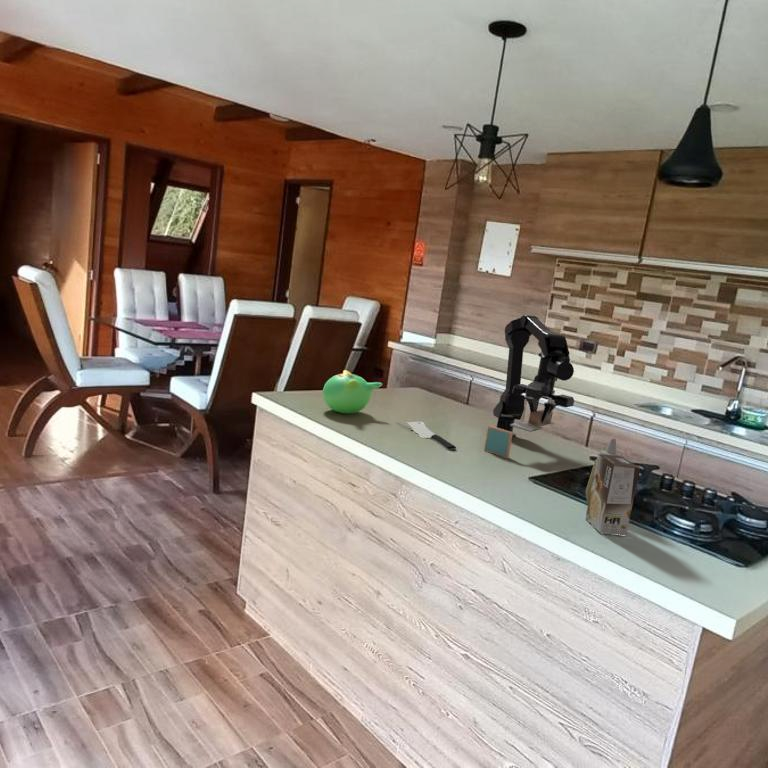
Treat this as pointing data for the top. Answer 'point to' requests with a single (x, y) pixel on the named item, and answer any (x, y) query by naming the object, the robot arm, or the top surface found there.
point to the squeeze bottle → (609, 451)
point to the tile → (498, 441)
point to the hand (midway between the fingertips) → (537, 421)
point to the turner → (533, 422)
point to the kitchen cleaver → (430, 434)
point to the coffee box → (612, 494)
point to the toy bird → (348, 392)
